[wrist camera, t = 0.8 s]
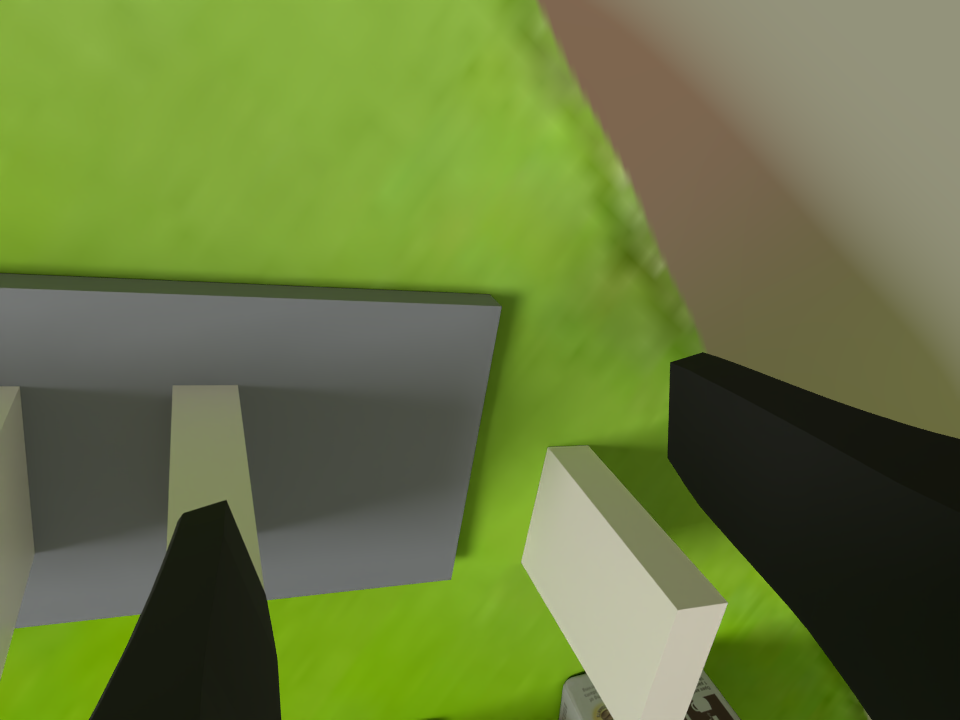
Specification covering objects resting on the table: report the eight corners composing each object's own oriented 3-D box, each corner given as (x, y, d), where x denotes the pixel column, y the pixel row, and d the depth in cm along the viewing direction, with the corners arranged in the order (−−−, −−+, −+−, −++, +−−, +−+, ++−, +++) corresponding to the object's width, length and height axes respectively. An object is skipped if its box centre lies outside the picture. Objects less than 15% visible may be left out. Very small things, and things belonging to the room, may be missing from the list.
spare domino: (559, 558, 28) (677, 737, 21) (521, 562, 27) (630, 747, 21) (588, 445, 26) (727, 602, 19) (547, 446, 25) (677, 610, 19)
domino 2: (232, 537, 21) (252, 786, 15) (172, 542, 21) (165, 804, 14) (238, 385, 20) (264, 591, 13) (172, 385, 19) (164, 601, 12)
